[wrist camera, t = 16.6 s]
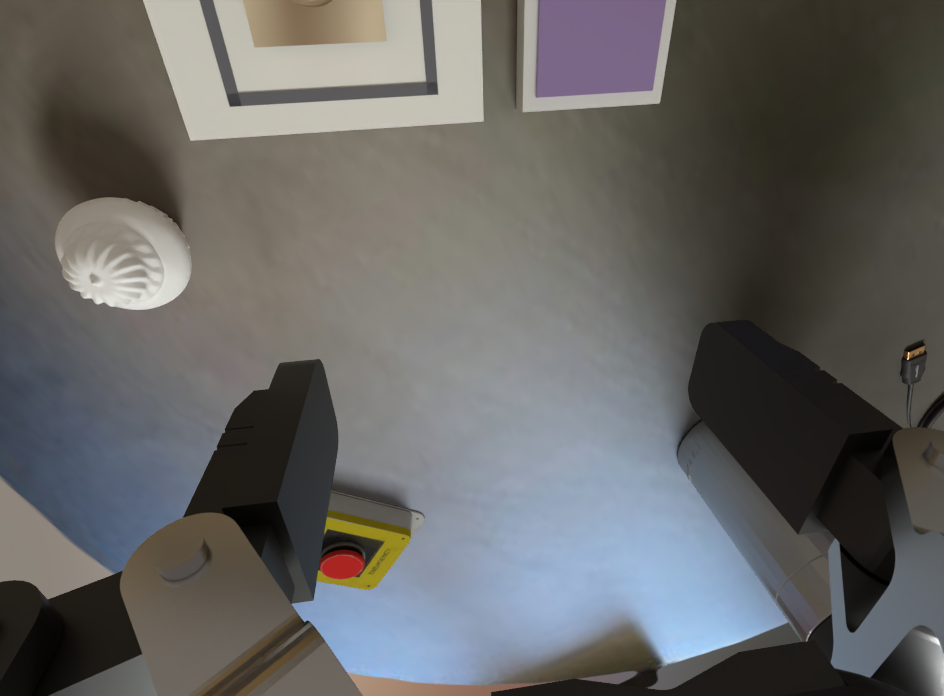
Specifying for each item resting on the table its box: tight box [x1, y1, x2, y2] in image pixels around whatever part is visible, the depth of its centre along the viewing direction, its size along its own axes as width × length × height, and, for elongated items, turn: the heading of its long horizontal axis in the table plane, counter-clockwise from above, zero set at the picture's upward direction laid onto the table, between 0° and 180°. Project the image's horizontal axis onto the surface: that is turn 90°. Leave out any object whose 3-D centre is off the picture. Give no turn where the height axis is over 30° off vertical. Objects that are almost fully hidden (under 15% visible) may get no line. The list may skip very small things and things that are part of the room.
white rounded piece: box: [55, 197, 191, 310], centre depth 25 cm, size 6×6×7 cm
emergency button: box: [317, 490, 425, 590], centre depth 43 cm, size 9×4×15 cm
